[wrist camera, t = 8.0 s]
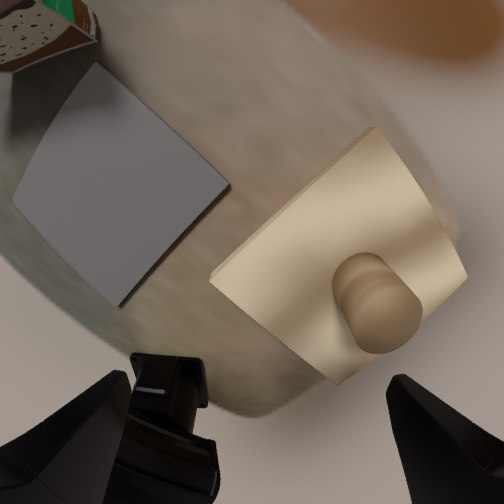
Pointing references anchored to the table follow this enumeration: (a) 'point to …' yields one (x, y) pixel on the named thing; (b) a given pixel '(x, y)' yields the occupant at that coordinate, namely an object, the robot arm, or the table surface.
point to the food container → (42, 30)
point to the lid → (346, 262)
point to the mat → (113, 185)
